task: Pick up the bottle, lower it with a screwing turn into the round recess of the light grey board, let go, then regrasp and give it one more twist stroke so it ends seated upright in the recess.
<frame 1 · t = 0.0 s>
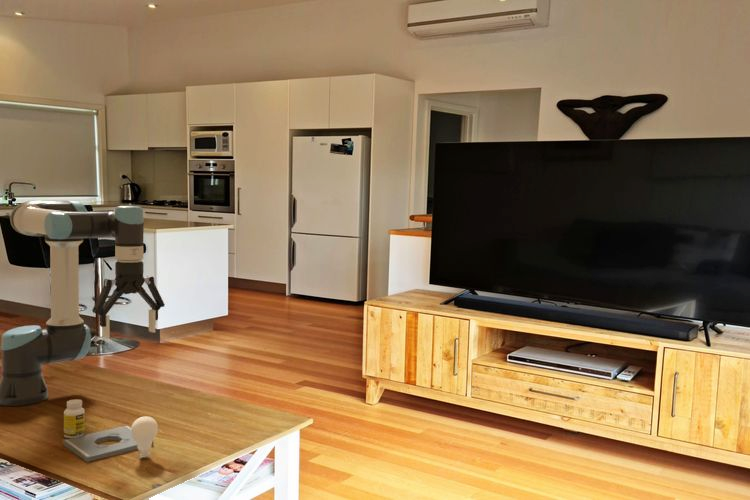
hand: (129, 334, 194), 28 cm above the table, fingers open, 13 cm apart
socket board: (108, 444, 185), on the table
supplement bottle: (74, 436, 192), on the table
light bulb: (144, 459, 177), on the table
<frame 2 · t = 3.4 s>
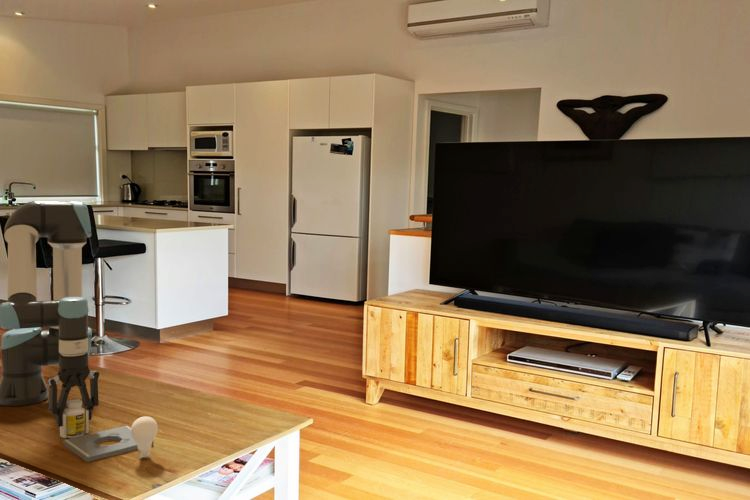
hand: (74, 434, 192), 0 cm above the table, fingers closed on supplement bottle, 5 cm apart
supplement bottle: (74, 435, 192), on the table, touching gripper
everything else where it was.
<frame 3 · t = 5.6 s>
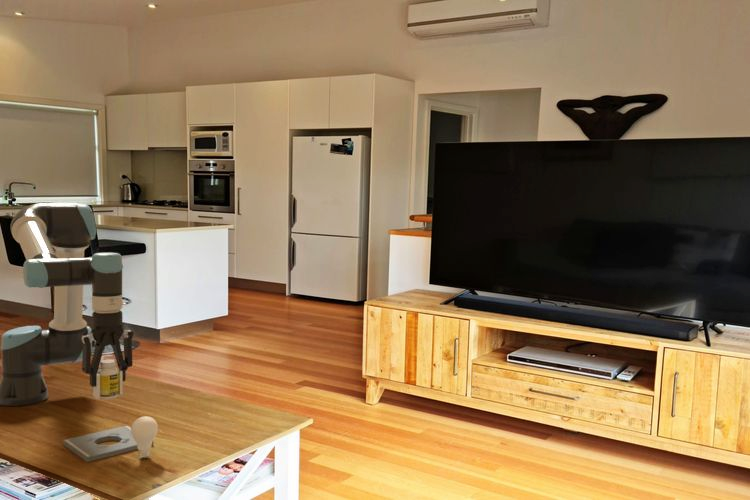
hand: (108, 395, 184), 14 cm above the table, fingers closed on supplement bottle, 5 cm apart
supplement bottle: (108, 397, 184), point 13 cm above the table, touching gripper
everything else where it was.
when the fingers open (2 cm above the table, at t = 7.6 s): supplement bottle drops 2 cm, resting in socket board.
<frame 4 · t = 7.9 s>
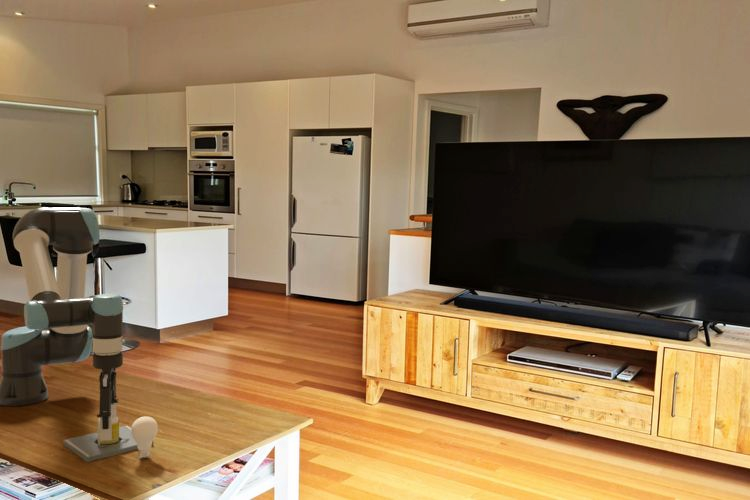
hand: (108, 433, 185), 3 cm above the table, fingers open, 9 cm apart
supplement bottle: (108, 445, 185), resting in socket board
everything else where it was.
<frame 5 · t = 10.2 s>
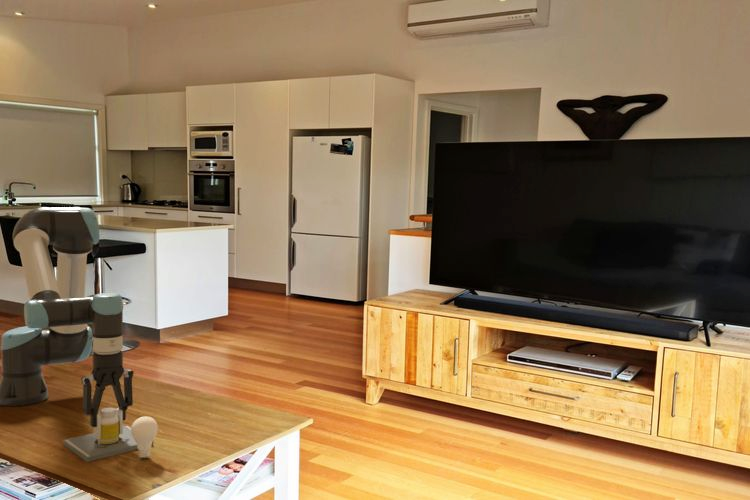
hand: (108, 435, 185), 3 cm above the table, fingers closed on supplement bottle, 5 cm apart
supplement bottle: (108, 445, 185), resting in socket board, touching gripper
everything else where it was.
when the fingers open (4 cm above the table, at t = 11.8 s): supplement bottle moves 1 cm, resting in socket board.
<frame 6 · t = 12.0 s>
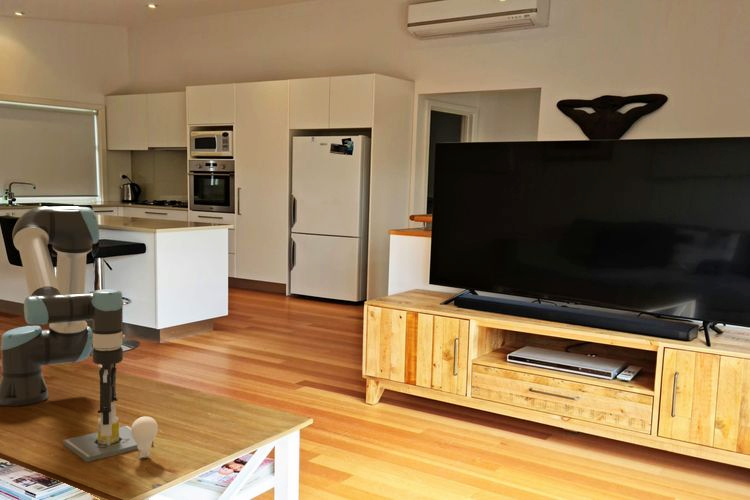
hand: (108, 430, 185), 4 cm above the table, fingers open, 7 cm apart
supplement bottle: (108, 445, 185), resting in socket board
everything else where it was.
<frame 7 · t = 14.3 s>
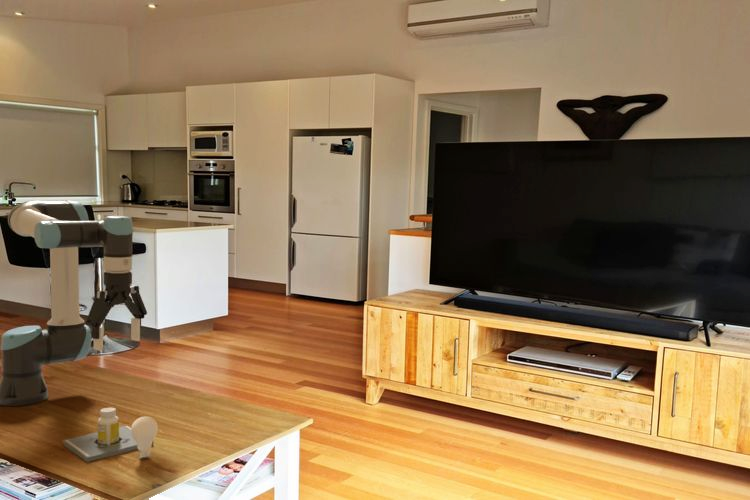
hand: (117, 345, 194), 25 cm above the table, fingers open, 13 cm apart
nothing on the table moved.
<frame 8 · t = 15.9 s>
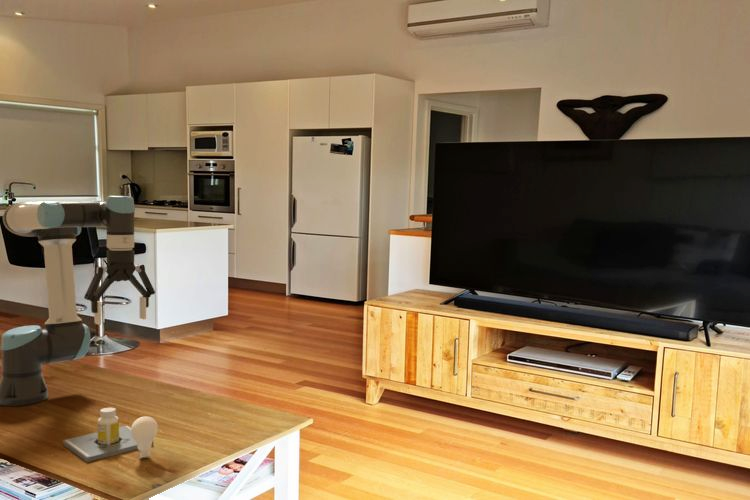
hand: (120, 321, 200), 31 cm above the table, fingers open, 13 cm apart
nothing on the table moved.
at the end: supplement bottle 0.1 cm off-centre on the socket board, point 0.0 cm above the socket board's base; supplement bottle tilted 0°; the gripper is holding nothing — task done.
